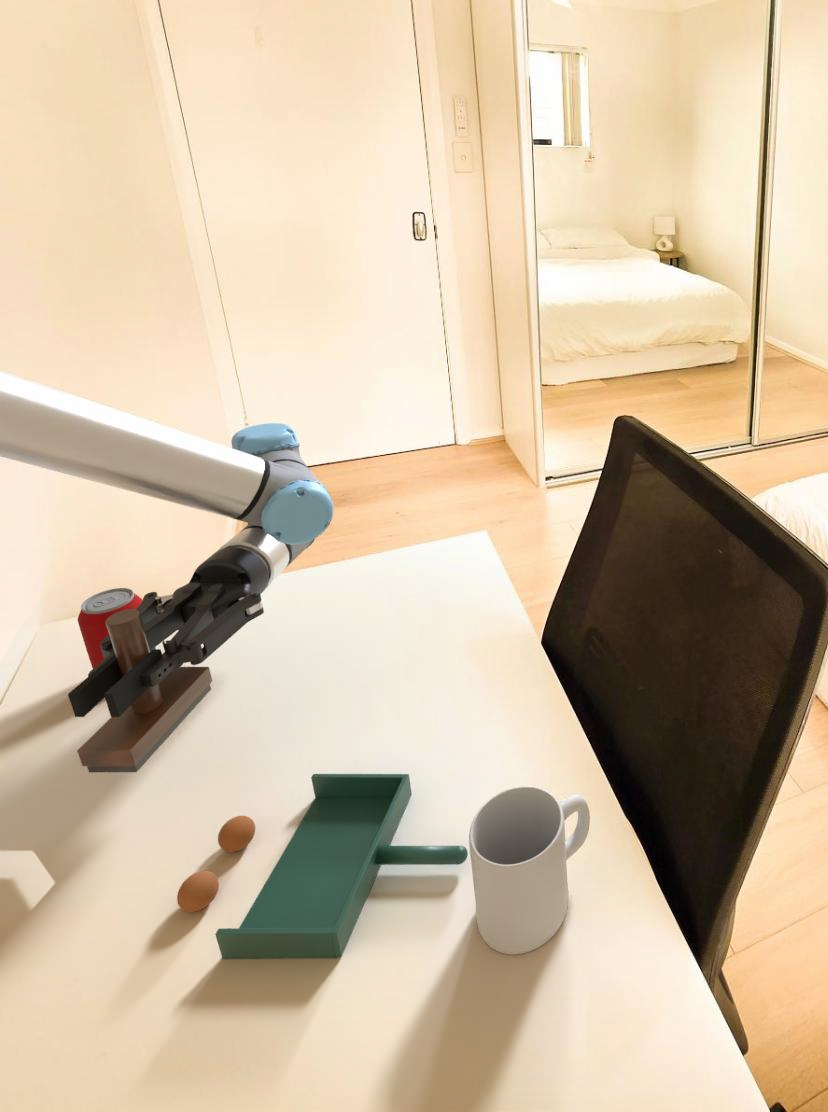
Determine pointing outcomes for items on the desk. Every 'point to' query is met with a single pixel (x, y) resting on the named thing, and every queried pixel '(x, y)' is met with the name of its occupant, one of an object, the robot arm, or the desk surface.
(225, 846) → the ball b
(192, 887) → the brown egg
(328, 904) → the dustpan
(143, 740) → the brush
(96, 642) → the beverage can
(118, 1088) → the desk surface
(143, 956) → the desk surface
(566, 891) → the mug
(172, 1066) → the desk surface
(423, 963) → the desk surface
